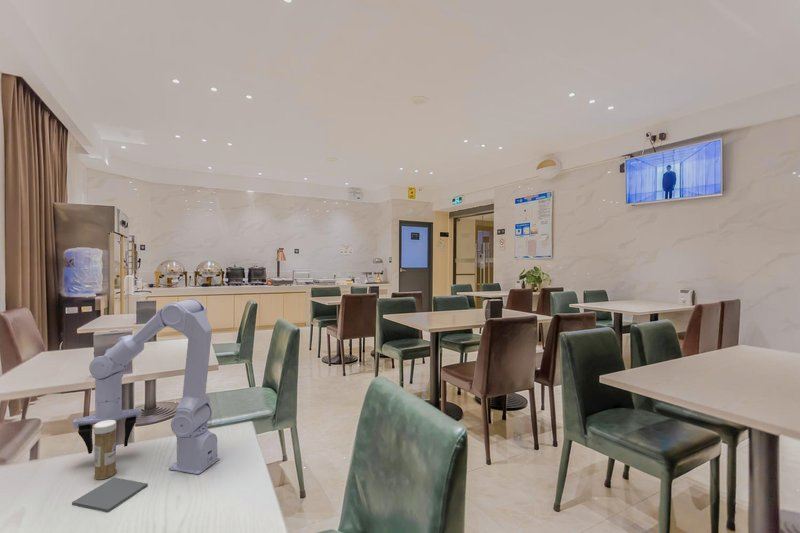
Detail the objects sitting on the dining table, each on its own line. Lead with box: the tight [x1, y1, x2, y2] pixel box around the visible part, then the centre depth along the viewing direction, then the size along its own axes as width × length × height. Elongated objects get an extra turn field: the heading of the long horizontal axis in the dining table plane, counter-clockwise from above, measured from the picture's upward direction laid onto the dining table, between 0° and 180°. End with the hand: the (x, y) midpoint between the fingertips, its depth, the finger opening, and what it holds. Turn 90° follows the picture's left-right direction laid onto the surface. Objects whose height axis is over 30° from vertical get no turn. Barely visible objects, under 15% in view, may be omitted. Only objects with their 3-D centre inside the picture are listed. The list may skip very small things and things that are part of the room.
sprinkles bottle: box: [93, 420, 117, 481], centre depth 98 cm, size 5×5×13 cm
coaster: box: [71, 477, 149, 513], centre depth 90 cm, size 10×10×1 cm
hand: (108, 448), depth 105 cm, fingers open, 7 cm apart
